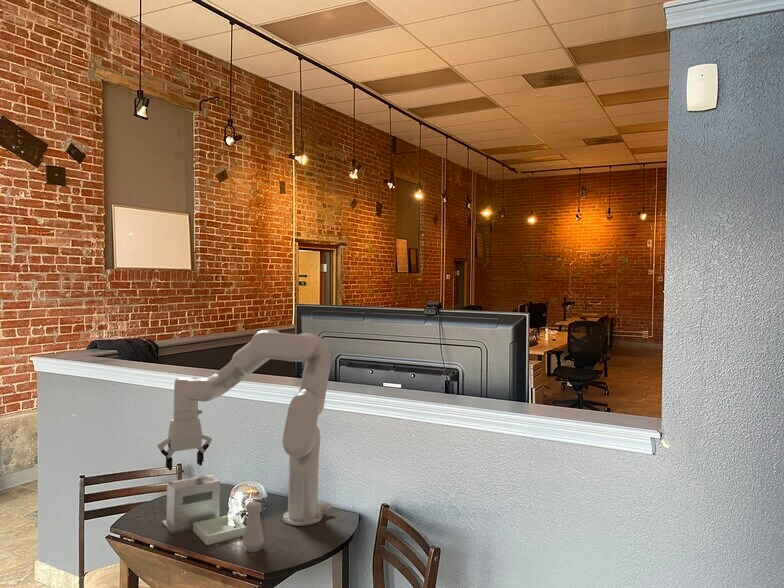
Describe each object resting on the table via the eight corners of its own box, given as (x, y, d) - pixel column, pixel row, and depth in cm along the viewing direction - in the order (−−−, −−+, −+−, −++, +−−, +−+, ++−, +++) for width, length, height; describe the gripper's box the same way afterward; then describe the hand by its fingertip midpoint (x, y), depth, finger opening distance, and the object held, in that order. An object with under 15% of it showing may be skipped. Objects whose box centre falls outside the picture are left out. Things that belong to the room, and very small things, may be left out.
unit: (212, 512, 186) (213, 473, 186) (223, 522, 178) (224, 481, 178) (162, 523, 177) (163, 481, 177) (171, 534, 169) (172, 490, 169)
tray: (231, 522, 178) (231, 514, 178) (246, 535, 169) (246, 526, 169) (193, 531, 171) (193, 522, 171) (206, 545, 162) (206, 536, 162)
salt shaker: (267, 549, 160) (268, 503, 160) (250, 555, 155) (251, 508, 156) (255, 542, 164) (256, 498, 164) (238, 549, 159) (239, 503, 160)
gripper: (208, 410, 194) (207, 460, 194) (155, 415, 183) (154, 468, 183) (215, 413, 188) (214, 465, 188) (161, 419, 177) (160, 474, 177)
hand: (184, 466), depth 185 cm, fingers open, 9 cm apart
